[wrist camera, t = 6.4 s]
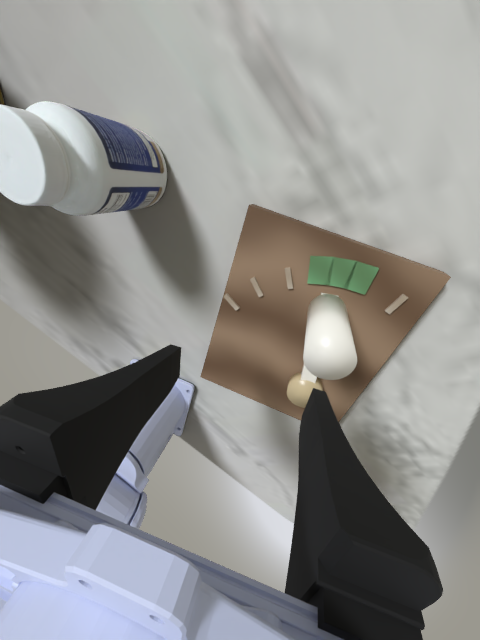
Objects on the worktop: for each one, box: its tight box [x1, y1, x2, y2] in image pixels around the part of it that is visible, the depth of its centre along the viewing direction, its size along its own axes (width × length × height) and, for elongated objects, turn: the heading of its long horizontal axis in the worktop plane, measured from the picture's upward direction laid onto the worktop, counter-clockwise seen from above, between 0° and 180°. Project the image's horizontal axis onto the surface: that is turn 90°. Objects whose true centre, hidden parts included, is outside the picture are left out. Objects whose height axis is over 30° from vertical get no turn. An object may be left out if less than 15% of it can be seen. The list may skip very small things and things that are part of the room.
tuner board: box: [201, 204, 451, 422], centre depth 22 cm, size 17×14×1 cm
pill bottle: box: [0, 101, 167, 216], centre depth 16 cm, size 5×5×10 cm
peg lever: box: [287, 293, 357, 408], centre depth 18 cm, size 11×3×7 cm, turn 175°
